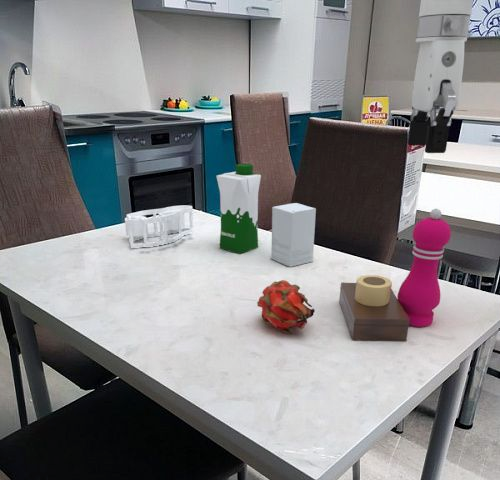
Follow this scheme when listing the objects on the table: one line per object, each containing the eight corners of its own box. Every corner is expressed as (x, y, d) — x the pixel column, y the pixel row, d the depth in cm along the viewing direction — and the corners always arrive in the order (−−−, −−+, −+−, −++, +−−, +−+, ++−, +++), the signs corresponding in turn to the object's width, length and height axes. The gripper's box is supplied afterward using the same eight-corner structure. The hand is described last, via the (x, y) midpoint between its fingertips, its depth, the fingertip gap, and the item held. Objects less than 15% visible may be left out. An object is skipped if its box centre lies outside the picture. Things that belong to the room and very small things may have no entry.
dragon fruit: (268, 317, 95) (302, 353, 87) (237, 301, 89) (271, 338, 81) (295, 281, 93) (333, 314, 85) (266, 262, 88) (303, 296, 79)
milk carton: (263, 247, 129) (265, 165, 119) (239, 255, 122) (239, 170, 113) (237, 240, 134) (237, 161, 124) (213, 248, 127) (211, 166, 118)
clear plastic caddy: (184, 228, 144) (182, 202, 140) (204, 237, 136) (203, 210, 132) (117, 240, 133) (114, 212, 130) (134, 250, 125) (131, 221, 122)
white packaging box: (313, 261, 119) (317, 208, 113) (289, 267, 115) (291, 212, 109) (294, 253, 124) (296, 201, 119) (269, 258, 121) (271, 205, 115)
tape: (385, 293, 92) (387, 274, 90) (392, 306, 87) (395, 287, 85) (352, 292, 92) (354, 274, 90) (357, 306, 87) (359, 286, 85)
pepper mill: (406, 307, 96) (427, 201, 87) (442, 320, 91) (467, 210, 82) (385, 318, 91) (405, 207, 82) (422, 332, 87) (447, 216, 78)
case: (387, 302, 98) (389, 283, 96) (408, 341, 84) (412, 319, 82) (338, 301, 98) (340, 282, 97) (351, 340, 84) (354, 318, 82)
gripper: (490, 26, 70) (467, 156, 78) (446, 35, 85) (431, 142, 93) (436, 26, 70) (418, 156, 78) (402, 35, 85) (390, 142, 93)
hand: (425, 148), depth 85 cm, fingers open, 9 cm apart
